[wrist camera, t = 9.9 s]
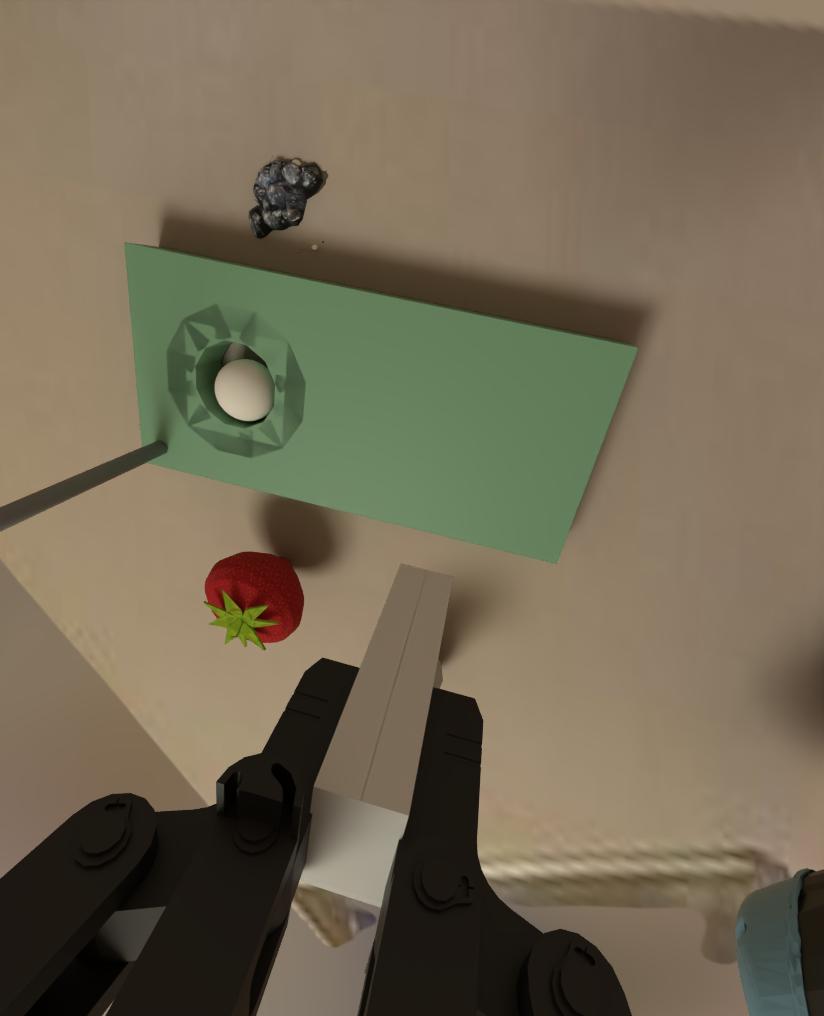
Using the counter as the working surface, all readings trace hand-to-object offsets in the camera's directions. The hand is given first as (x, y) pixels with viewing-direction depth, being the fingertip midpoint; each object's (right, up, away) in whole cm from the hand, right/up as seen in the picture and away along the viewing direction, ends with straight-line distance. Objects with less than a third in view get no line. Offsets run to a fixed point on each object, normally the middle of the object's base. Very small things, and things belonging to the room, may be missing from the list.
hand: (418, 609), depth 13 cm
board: (-3, +10, +18) cm, 21 cm away
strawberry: (-11, -1, +25) cm, 28 cm away
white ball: (-11, +11, +18) cm, 23 cm away
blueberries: (-8, +21, +15) cm, 27 cm away
